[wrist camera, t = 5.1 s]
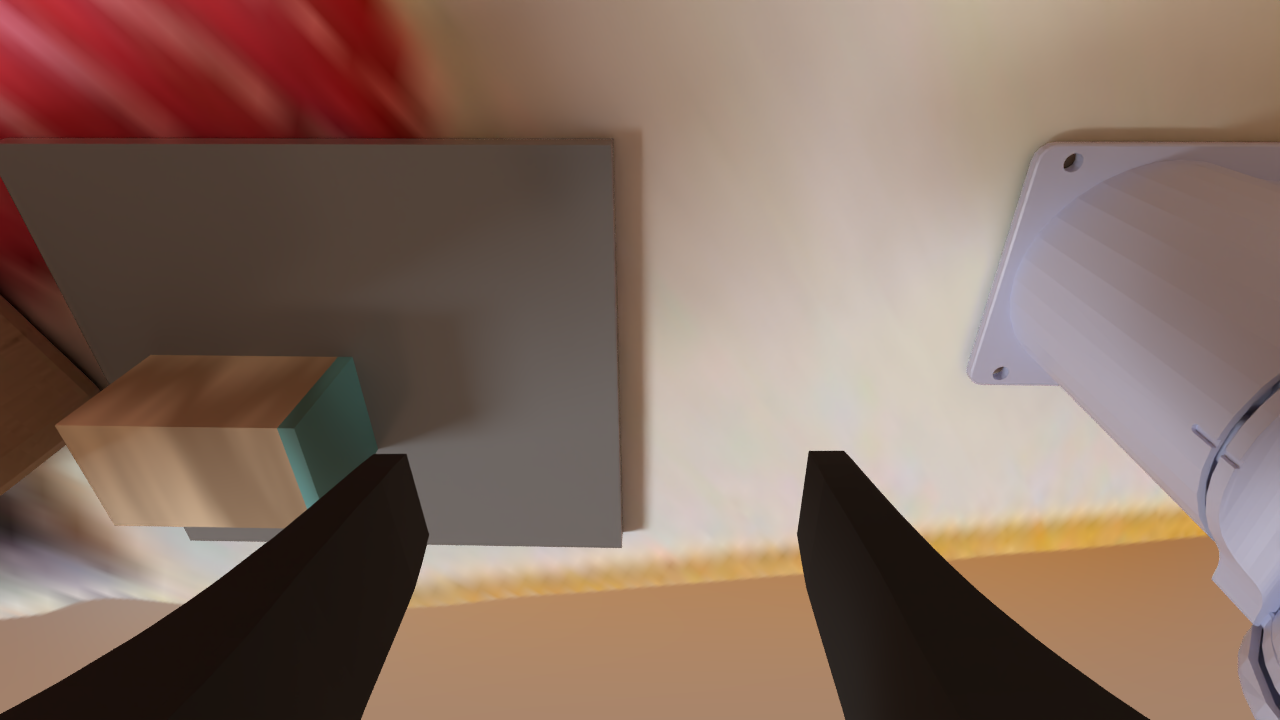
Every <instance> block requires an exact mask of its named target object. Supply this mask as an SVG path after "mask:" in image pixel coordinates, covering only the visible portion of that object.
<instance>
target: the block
mask: <svg viewBox="0 0 1280 720" xmlns="http://www.w3.org/2000/svg"><path fill="white" fill-rule="evenodd" d="M99 392H100V391H99V389H98V387H97V386H96V385H95V384H94V383H93V382H92V381H91V380H90V379H89V378H88V377H87V376H86V375H84V374H83V373H82V372H81V371H80V370H79V369H78V368H77V367H76V366H75V365H74V364H73V363H72V362H71V361H70V360H69V359H68V358H67V357H65V356H64V355H63V354H62V353H61V352H60V351H59V350H58V349H57V348H56V347H55V346H54V345H53V344H52V343H51V342H50V341H49V340H48V339H46V338H45V337H44V336H43V335H42V334H41V333H40V332H39V331H38V330H37V329H36V328H35V327H34V326H33V325H32V324H31V323H30V322H29V321H27V320H26V319H25V318H24V317H23V316H22V315H21V314H20V313H19V312H18V311H17V310H16V309H15V308H14V307H13V306H12V305H11V304H10V303H8V302H7V301H6V300H5V299H4V298H3V297H2V296H1V295H0V496H1V495H2V494H3V493H5V492H6V491H7V490H9V489H10V488H11V487H12V486H14V485H15V484H16V483H18V482H19V481H20V480H21V479H23V478H24V477H25V476H26V475H28V474H29V473H30V472H32V471H33V470H34V469H35V468H37V467H38V466H39V465H41V464H42V463H43V462H44V461H46V460H47V459H48V458H50V457H51V456H52V455H53V454H55V453H56V452H57V451H59V450H60V449H61V448H62V447H64V446H65V445H66V444H65V442H64V440H63V439H62V437H61V435H60V434H59V432H58V430H57V429H56V427H55V425H56V424H57V423H59V422H60V421H61V420H63V419H64V418H65V417H67V416H68V415H69V414H71V413H72V412H74V411H75V410H76V409H78V408H79V407H80V406H82V405H83V404H84V403H86V402H87V401H88V400H90V399H91V398H93V397H94V396H95V395H97V394H98V393H99Z"/></svg>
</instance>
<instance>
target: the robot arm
mask: <svg viewBox="0 0 1280 720" xmlns="http://www.w3.org/2000/svg"><path fill="white" fill-rule="evenodd" d="M1071 154H1076V157H1075V161H1074V162H1073V164H1072V165H1071V166H1069V167H1068V168H1063V167H1064V162H1065V160H1066V158H1067V157H1069V156H1070V155H1071ZM999 367H1003V369H1002V370H1001V371H1000V372H998V373H995V374H993V372H994V371H995V370H996V369H997V368H999ZM966 373H967V375H968V377H969V378H970V379H971V380H972V381H973V382H974V383H976V384H980V385H1044V386H1061V387H1062V388H1063V389H1064V390H1065V391H1066V392H1067V393H1068V394H1069V395H1070V396H1071V397H1072V398H1073V400H1074V401H1075V402H1076V403H1077V404H1078V405H1079V406H1080V407H1081V408H1082V409H1083V410H1084V411H1085V412H1086V413H1087V414H1088V415H1089V416H1090V417H1091V418H1092V419H1093V420H1094V421H1095V422H1096V423H1097V424H1098V425H1099V426H1100V427H1101V428H1102V429H1103V430H1104V431H1105V432H1106V433H1107V434H1108V435H1109V436H1110V437H1111V438H1112V439H1113V440H1114V441H1115V442H1116V443H1117V444H1118V445H1119V446H1120V447H1121V448H1122V449H1123V450H1124V451H1125V452H1126V453H1127V454H1128V455H1129V456H1130V457H1131V458H1132V459H1133V460H1134V461H1135V462H1136V463H1137V464H1138V465H1139V466H1140V467H1141V468H1142V469H1143V470H1144V471H1145V472H1146V473H1147V474H1148V475H1149V476H1150V477H1151V478H1152V479H1153V480H1154V481H1155V482H1156V483H1157V484H1158V485H1159V486H1160V487H1161V488H1162V489H1163V490H1164V491H1165V492H1166V493H1167V494H1168V495H1169V496H1170V497H1171V498H1172V499H1173V500H1174V501H1175V502H1176V503H1177V504H1178V505H1179V506H1180V507H1181V508H1182V509H1183V510H1184V511H1185V512H1186V513H1187V514H1188V515H1189V516H1190V517H1191V518H1192V519H1193V521H1194V522H1195V523H1196V524H1197V525H1198V526H1199V527H1200V528H1201V529H1202V530H1203V531H1204V532H1205V533H1206V534H1207V535H1208V536H1209V537H1210V538H1211V539H1212V540H1214V541H1215V542H1216V544H1217V547H1218V549H1219V556H1220V557H1219V558H1220V559H1219V564H1218V567H1217V569H1216V570H1215V572H1214V574H1213V576H1212V580H1213V581H1214V582H1215V583H1216V584H1217V586H1218V587H1219V588H1220V589H1221V590H1222V591H1223V592H1224V593H1225V594H1226V595H1227V596H1228V598H1229V599H1230V600H1231V601H1232V602H1233V603H1234V604H1235V605H1236V606H1237V607H1238V608H1239V609H1240V610H1241V612H1242V613H1243V614H1244V615H1245V616H1246V617H1247V618H1248V619H1249V620H1250V621H1251V622H1252V624H1253V625H1252V626H1251V628H1250V629H1249V630H1248V632H1247V633H1246V634H1245V636H1244V637H1243V640H1242V643H1241V646H1240V649H1239V652H1238V675H1239V679H1240V682H1241V686H1242V690H1243V694H1244V696H1245V698H1246V700H1247V702H1248V705H1249V706H1250V709H1251V711H1252V713H1253V715H1254V718H1255V719H1256V720H1280V142H1050V143H1047V144H1045V145H1043V146H1041V147H1040V148H1039V149H1038V150H1037V151H1036V152H1035V153H1034V155H1033V157H1032V159H1031V162H1030V165H1029V168H1028V172H1027V175H1026V178H1025V181H1024V185H1023V188H1022V191H1021V194H1020V197H1019V201H1018V204H1017V207H1016V210H1015V214H1014V217H1013V220H1012V223H1011V227H1010V230H1009V233H1008V236H1007V239H1006V243H1005V246H1004V249H1003V252H1002V256H1001V259H1000V262H999V265H998V269H997V272H996V275H995V278H994V281H993V285H992V288H991V291H990V294H989V298H988V301H987V304H986V307H985V310H984V314H983V317H982V320H981V323H980V327H979V330H978V333H977V336H976V340H975V343H974V346H973V349H972V352H971V356H970V359H969V362H968V365H967V372H966ZM797 536H798V543H799V549H800V555H801V561H802V567H803V572H804V578H805V583H806V588H807V592H808V595H809V599H810V602H811V605H812V609H813V612H814V616H815V619H816V622H817V626H818V629H819V633H820V636H821V639H822V643H823V646H824V649H825V653H826V656H827V659H828V663H829V666H830V669H831V673H832V676H833V679H834V683H835V686H836V689H837V693H838V696H839V699H840V703H841V706H842V709H843V713H844V717H845V720H1150V719H1148V718H1147V717H1145V716H1143V715H1142V714H1141V713H1139V712H1137V711H1136V710H1135V709H1133V708H1132V707H1130V706H1129V705H1127V704H1126V703H1124V702H1123V701H1121V700H1120V699H1118V698H1117V697H1115V696H1114V695H1112V694H1111V693H1110V692H1108V691H1107V690H1105V689H1104V688H1102V687H1101V686H1099V685H1098V684H1097V683H1096V682H1094V681H1093V680H1091V679H1090V678H1089V677H1087V676H1086V675H1084V674H1083V673H1082V672H1080V671H1079V670H1078V669H1076V668H1075V667H1073V666H1072V665H1071V664H1069V663H1068V662H1066V661H1065V660H1064V659H1062V658H1061V657H1060V656H1058V655H1057V654H1056V653H1054V652H1053V651H1052V650H1050V649H1049V648H1048V647H1046V646H1045V645H1044V644H1042V643H1041V642H1040V641H1039V640H1037V639H1036V638H1035V637H1033V636H1032V635H1031V634H1030V633H1028V632H1027V631H1026V630H1025V629H1024V628H1022V627H1021V626H1020V625H1019V624H1017V623H1016V622H1015V621H1014V620H1013V619H1011V618H1010V617H1009V616H1008V615H1006V614H1005V613H1004V612H1003V611H1002V610H1000V609H999V608H998V607H997V606H996V605H994V604H993V603H992V602H991V601H990V600H988V599H987V598H986V597H985V596H984V595H983V594H981V593H980V592H979V591H978V590H977V589H976V588H975V587H974V586H973V585H971V584H970V583H969V582H968V581H967V580H966V579H965V578H964V577H963V576H962V575H961V574H959V572H958V571H956V570H955V569H954V568H953V567H952V566H951V565H950V564H949V563H948V562H947V561H946V560H945V559H944V558H943V557H942V556H941V555H940V554H939V553H938V552H937V551H936V550H935V549H934V548H933V547H932V546H931V545H930V544H929V543H928V542H927V541H926V540H925V539H924V538H923V537H922V536H921V535H920V534H919V533H918V532H917V531H916V530H915V529H914V528H913V527H912V525H911V524H910V523H909V522H908V521H907V520H906V519H905V518H904V517H903V516H902V515H901V514H900V513H899V512H898V511H897V510H896V508H895V507H894V506H893V505H892V504H891V503H890V502H889V501H888V500H887V499H886V497H885V496H884V495H883V494H882V493H881V492H880V491H879V490H878V489H877V487H876V486H875V485H874V484H873V483H872V482H871V481H870V479H869V478H868V477H867V476H866V475H865V474H864V473H863V471H862V470H861V469H860V468H859V467H858V466H857V465H856V463H855V462H854V461H853V460H852V459H851V458H850V457H849V456H848V455H847V454H846V452H845V451H809V454H808V461H807V468H806V475H805V482H804V489H803V496H802V504H801V511H800V518H799V525H798V532H797ZM428 538H429V532H428V529H427V525H426V522H425V518H424V514H423V511H422V507H421V504H420V500H419V497H418V493H417V489H416V486H415V482H414V479H413V475H412V471H411V468H410V464H409V461H408V457H407V454H373V455H372V456H370V457H369V458H368V459H366V460H365V461H364V462H363V463H361V464H360V465H359V466H358V467H356V468H355V469H354V470H353V471H352V472H351V473H349V474H348V475H347V476H346V477H345V478H343V479H342V480H341V481H340V482H339V483H338V484H336V485H335V486H334V487H333V488H332V489H331V490H329V491H328V492H327V493H326V494H325V495H324V496H322V497H321V498H320V499H319V500H318V501H317V502H315V503H314V504H313V505H312V506H311V507H309V508H308V509H307V510H306V511H305V512H303V513H302V514H301V515H300V516H299V517H297V518H296V519H295V520H294V521H293V522H291V523H290V524H289V525H288V526H287V527H285V528H284V529H283V530H282V531H281V532H279V533H278V534H277V535H276V536H274V537H273V538H272V539H271V540H269V541H268V542H267V543H265V544H264V545H263V546H262V547H260V548H259V549H258V550H256V551H255V552H254V553H252V554H251V555H250V556H249V557H247V558H246V559H245V560H243V561H242V562H241V563H240V564H238V565H237V566H236V567H234V568H233V569H232V570H231V571H229V572H228V573H227V574H225V575H224V576H223V577H221V578H220V579H219V580H217V581H216V582H215V583H213V584H212V585H211V586H209V587H208V588H206V589H205V590H204V591H202V592H201V593H199V594H198V595H196V596H195V597H194V598H192V599H191V600H189V601H188V602H187V603H185V604H184V605H182V606H181V607H179V608H178V609H176V610H175V611H173V612H172V613H170V614H169V615H167V616H166V617H164V618H163V619H161V620H160V621H158V622H157V623H155V624H154V625H152V626H151V627H149V628H148V629H146V630H144V631H143V632H141V633H140V634H138V635H137V636H135V637H133V638H132V639H130V640H129V641H127V642H125V643H123V644H122V645H120V646H118V647H117V648H115V649H113V650H112V651H110V652H108V653H107V654H105V655H103V656H102V657H100V658H98V659H97V660H95V661H94V662H92V663H90V664H88V665H87V666H85V667H84V668H82V669H80V670H78V671H77V672H75V673H73V674H72V675H70V676H68V677H67V678H65V679H63V680H62V681H60V682H58V683H56V684H55V685H53V686H51V687H49V688H47V689H46V690H44V691H42V692H40V693H38V694H36V695H35V696H33V697H31V698H29V699H27V700H25V701H24V702H22V703H20V704H19V705H17V706H15V707H13V708H11V709H9V710H7V711H5V712H3V713H1V714H0V720H361V718H362V715H363V712H364V710H365V707H366V705H367V702H368V700H369V697H370V695H371V693H372V690H373V688H374V685H375V683H376V681H377V679H378V676H379V674H380V671H381V669H382V667H383V664H384V662H385V660H386V657H387V655H388V652H389V650H390V648H391V645H392V643H393V641H394V638H395V636H396V633H397V631H398V628H399V626H400V624H401V621H402V619H403V616H404V614H405V612H406V609H407V607H408V604H409V602H410V599H411V597H412V594H413V592H414V589H415V586H416V583H417V579H418V576H419V572H420V569H421V565H422V562H423V558H424V554H425V550H426V546H427V542H428Z"/></svg>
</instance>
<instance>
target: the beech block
mask: <svg viewBox="0 0 1280 720" xmlns="http://www.w3.org/2000/svg"><path fill="white" fill-rule="evenodd" d="M55 427H56V429H57V430H58V432H59V434H60V435H61V437H62V439H63V440H64V442H65V444H66V445H67V447H68V449H69V450H70V452H71V454H72V455H73V457H74V459H75V460H76V462H77V464H78V465H79V467H80V469H81V470H82V472H83V474H84V475H85V477H86V479H87V480H88V482H89V484H90V485H91V487H92V489H93V490H94V492H95V494H96V495H97V497H98V499H99V500H100V502H101V504H102V505H103V507H104V509H105V510H106V512H107V514H108V515H109V517H110V519H111V520H112V522H113V524H114V525H115V526H172V527H230V528H285V527H287V526H288V525H289V524H290V523H291V522H293V521H294V520H295V519H296V518H297V517H299V516H300V515H301V514H302V513H303V512H305V511H306V510H307V509H308V508H309V507H311V506H312V505H313V504H314V503H315V502H317V501H318V500H319V499H320V498H321V497H322V496H324V495H325V494H326V493H327V492H328V491H329V490H331V489H332V488H333V487H334V486H335V485H336V484H338V483H339V482H340V481H341V480H342V479H343V478H345V477H346V476H347V475H348V474H349V473H351V472H352V471H353V470H354V469H355V468H356V467H358V466H359V465H360V464H361V463H363V462H364V461H365V460H366V459H368V458H369V457H370V456H372V455H373V454H376V452H377V450H378V447H377V444H376V440H375V436H374V433H373V429H372V426H371V422H370V418H369V415H368V411H367V408H366V404H365V400H364V397H363V393H362V390H361V386H360V382H359V379H358V375H357V372H356V368H355V364H354V361H353V357H301V356H205V355H150V356H148V357H147V358H146V359H144V360H143V361H142V362H140V363H139V364H138V365H136V366H135V367H133V368H132V369H131V370H129V371H128V372H127V373H125V374H124V375H123V376H121V377H120V378H118V379H117V380H116V381H114V382H113V383H112V384H110V385H109V386H108V387H106V388H105V389H103V390H102V391H101V392H99V393H98V394H97V395H95V396H94V397H93V398H91V399H90V400H88V401H87V402H86V403H84V404H83V405H82V406H80V407H79V408H78V409H76V410H75V411H74V412H72V413H71V414H69V415H68V416H67V417H65V418H64V419H63V420H61V421H60V422H59V423H57V424H56V425H55Z"/></svg>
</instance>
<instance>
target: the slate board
mask: <svg viewBox="0 0 1280 720" xmlns="http://www.w3.org/2000/svg"><path fill="white" fill-rule="evenodd" d="M0 176H1V178H2V180H3V182H4V184H5V186H6V188H7V190H8V192H9V194H10V195H11V197H12V199H13V201H14V203H15V205H16V207H17V209H18V211H19V213H20V215H21V217H22V218H23V220H24V222H25V224H26V226H27V228H28V230H29V232H30V234H31V236H32V238H33V239H34V241H35V243H36V245H37V247H38V249H39V251H40V253H41V255H42V257H43V259H44V261H45V262H46V264H47V266H48V268H49V270H50V272H51V274H52V276H53V278H54V280H55V282H56V284H57V285H58V287H59V289H60V291H61V293H62V295H63V297H64V299H65V301H66V303H67V305H68V307H69V308H70V310H71V312H72V314H73V316H74V318H75V320H76V322H77V324H78V326H79V328H80V329H81V331H82V333H83V335H84V337H85V339H86V341H87V343H88V345H89V347H90V349H91V351H92V352H93V354H94V356H95V358H96V360H97V362H98V364H99V366H100V368H101V370H102V372H103V374H104V375H105V377H106V379H107V381H108V383H109V385H110V384H112V383H113V382H114V381H116V380H117V379H118V378H120V377H121V376H123V375H124V374H125V373H127V372H128V371H129V370H131V369H132V368H133V367H135V366H136V365H138V364H139V363H140V362H142V361H143V360H144V359H146V358H147V357H148V356H150V355H205V356H301V357H353V361H354V364H355V368H356V372H357V375H358V379H359V382H360V386H361V390H362V393H363V397H364V400H365V404H366V408H367V411H368V415H369V418H370V422H371V426H372V429H373V433H374V436H375V440H376V444H377V447H378V450H377V452H376V454H407V457H408V461H409V464H410V468H411V471H412V475H413V479H414V482H415V486H416V489H417V493H418V497H419V500H420V504H421V507H422V511H423V514H424V518H425V522H426V525H427V529H428V532H429V538H428V542H427V545H484V546H541V547H598V548H622V536H623V526H622V486H621V445H620V404H619V364H618V323H617V283H616V242H615V201H614V161H613V139H412V138H5V139H1V140H0ZM184 529H185V531H186V532H187V534H188V536H189V538H190V540H200V541H257V542H268V541H269V540H271V539H272V538H273V537H274V536H276V535H277V534H278V533H279V532H281V531H282V530H283V529H284V528H230V527H184Z"/></svg>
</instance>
